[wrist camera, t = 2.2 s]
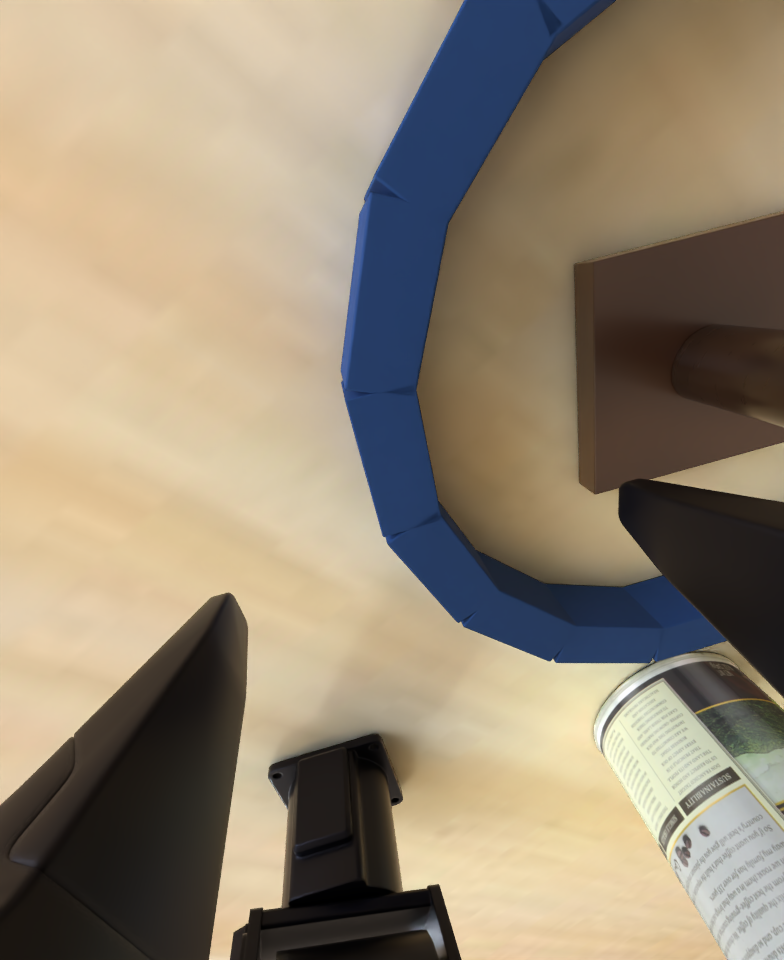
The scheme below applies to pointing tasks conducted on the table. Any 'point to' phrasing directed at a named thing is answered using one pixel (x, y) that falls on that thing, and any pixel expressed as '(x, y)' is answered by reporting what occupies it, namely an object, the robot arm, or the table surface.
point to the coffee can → (708, 789)
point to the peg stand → (680, 352)
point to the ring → (402, 336)
